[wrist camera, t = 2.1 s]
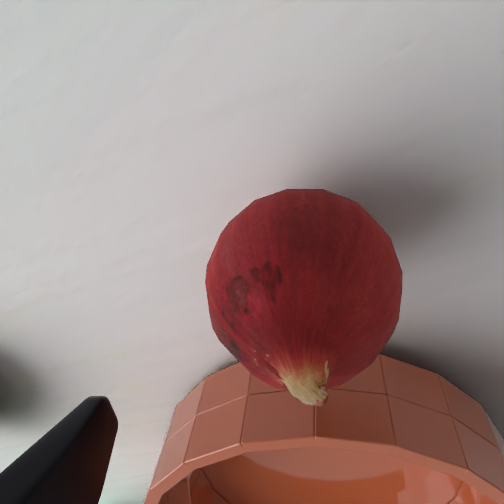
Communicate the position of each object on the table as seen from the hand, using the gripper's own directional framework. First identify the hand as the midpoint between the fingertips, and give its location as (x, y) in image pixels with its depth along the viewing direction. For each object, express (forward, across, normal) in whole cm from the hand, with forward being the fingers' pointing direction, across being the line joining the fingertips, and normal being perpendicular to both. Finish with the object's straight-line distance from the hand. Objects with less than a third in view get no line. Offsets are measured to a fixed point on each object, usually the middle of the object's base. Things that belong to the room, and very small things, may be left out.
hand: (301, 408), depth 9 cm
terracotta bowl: (+8, 0, +14) cm, 16 cm away
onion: (+8, 0, 0) cm, 9 cm away
